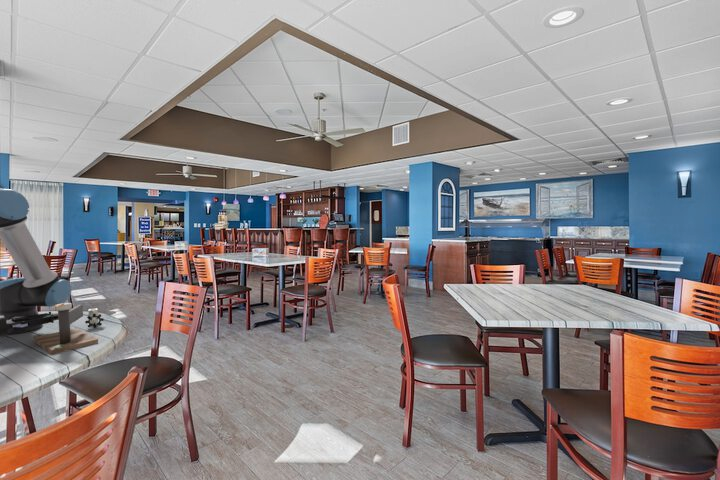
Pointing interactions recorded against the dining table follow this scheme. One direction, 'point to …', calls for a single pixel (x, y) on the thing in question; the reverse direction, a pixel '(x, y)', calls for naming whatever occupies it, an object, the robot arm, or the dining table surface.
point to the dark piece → (67, 319)
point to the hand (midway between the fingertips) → (73, 313)
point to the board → (54, 346)
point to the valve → (93, 318)
